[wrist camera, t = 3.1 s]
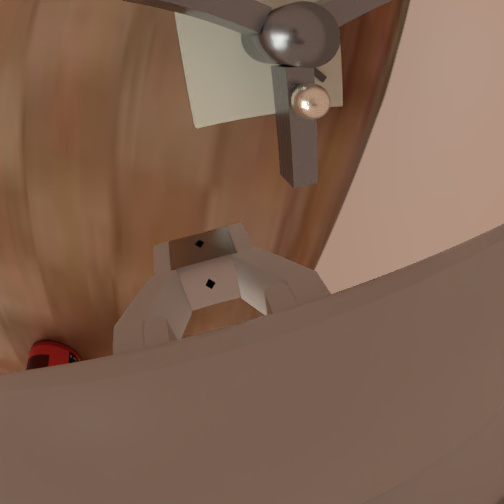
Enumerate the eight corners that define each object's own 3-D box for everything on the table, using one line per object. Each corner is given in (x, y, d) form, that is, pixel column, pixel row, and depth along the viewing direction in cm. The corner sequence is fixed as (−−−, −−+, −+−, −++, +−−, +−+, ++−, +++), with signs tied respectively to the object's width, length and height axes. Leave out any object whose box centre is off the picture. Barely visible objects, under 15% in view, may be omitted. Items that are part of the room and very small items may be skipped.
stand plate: (169, -19, 13) (170, -25, 12) (323, -24, 15) (334, -28, 14) (194, 124, 21) (196, 129, 20) (333, 102, 23) (344, 106, 21)
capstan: (124, -12, 11) (109, -43, 6) (367, -19, 14) (427, -26, 9) (167, 189, 22) (173, 239, 16) (372, 146, 24) (423, 177, 19)
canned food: (81, 376, 35) (82, 445, 26) (31, 364, 30) (24, 433, 22) (86, 347, 31) (85, 427, 23) (28, 332, 27) (16, 412, 19)
